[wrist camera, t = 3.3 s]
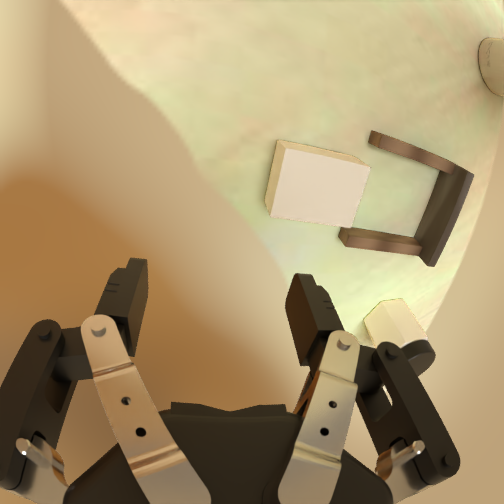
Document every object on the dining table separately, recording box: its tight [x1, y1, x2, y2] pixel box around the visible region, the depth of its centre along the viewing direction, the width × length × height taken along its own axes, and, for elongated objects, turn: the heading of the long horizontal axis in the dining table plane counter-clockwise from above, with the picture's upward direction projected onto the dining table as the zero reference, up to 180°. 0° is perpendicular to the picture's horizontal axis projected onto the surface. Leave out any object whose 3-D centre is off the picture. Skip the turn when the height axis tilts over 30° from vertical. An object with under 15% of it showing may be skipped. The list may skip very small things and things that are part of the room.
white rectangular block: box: [264, 140, 371, 228], centre depth 29 cm, size 9×7×5 cm
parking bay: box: [338, 131, 474, 267], centre depth 31 cm, size 14×14×5 cm
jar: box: [364, 299, 436, 376], centre depth 41 cm, size 9×8×12 cm
